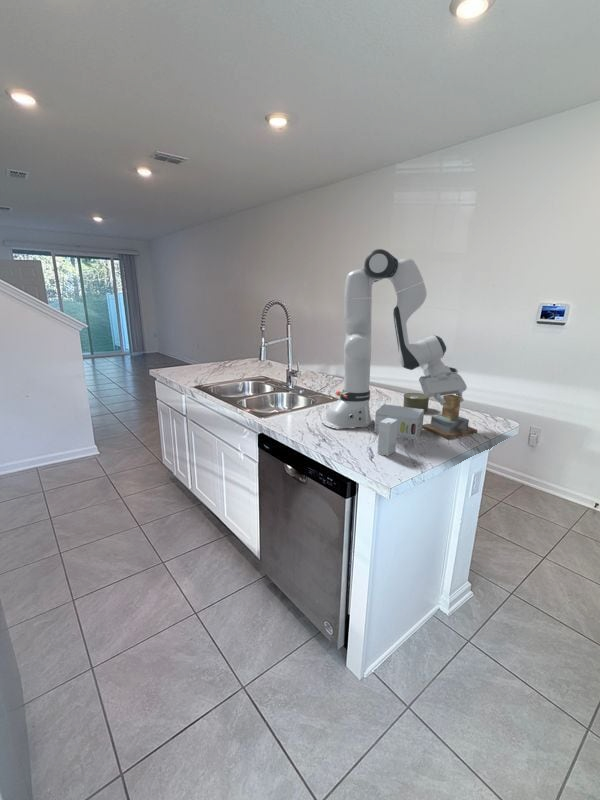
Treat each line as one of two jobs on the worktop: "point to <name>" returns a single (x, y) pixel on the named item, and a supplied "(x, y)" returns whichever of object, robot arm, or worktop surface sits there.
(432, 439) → the worktop surface
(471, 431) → the build base
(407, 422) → the supplement box
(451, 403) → the oak pillar
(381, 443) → the skincare box
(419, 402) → the can
